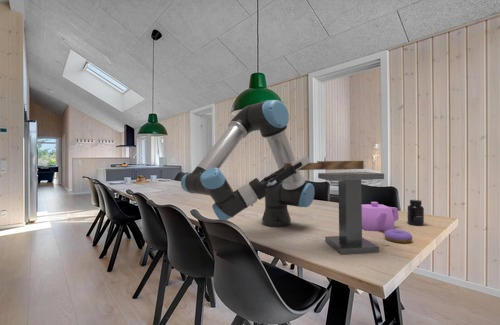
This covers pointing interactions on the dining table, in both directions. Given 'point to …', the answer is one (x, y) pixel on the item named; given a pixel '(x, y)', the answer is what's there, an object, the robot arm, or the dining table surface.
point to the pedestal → (350, 213)
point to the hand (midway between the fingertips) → (306, 158)
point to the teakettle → (378, 217)
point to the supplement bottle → (415, 213)
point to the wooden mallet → (330, 165)
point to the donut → (398, 236)
